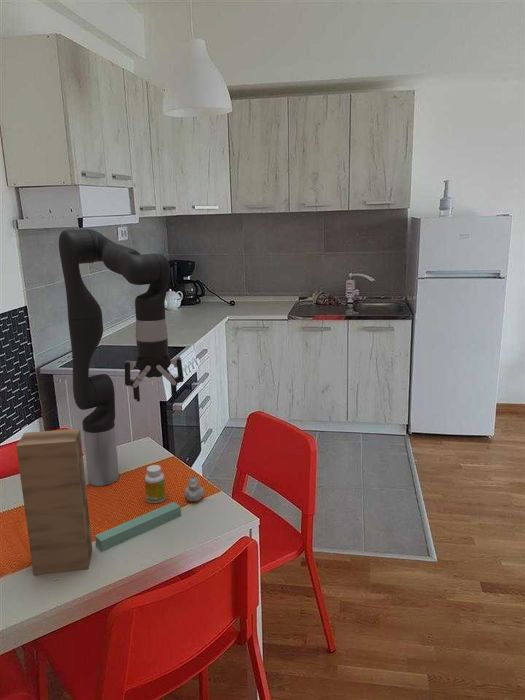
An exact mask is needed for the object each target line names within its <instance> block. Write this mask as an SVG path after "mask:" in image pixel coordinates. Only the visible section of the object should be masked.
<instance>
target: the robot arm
mask: <svg viewBox="0 0 525 700" xmlns="http://www.w3.org/2000/svg"><path fill="white" fill-rule="evenodd" d="M58 251H59V256H60V257H59V258H60V263H61V269H62V274H63V279H64V287H65V292H66V303H67V305H66V307H67V321H68V331H69V337H70V338H69V339H70V347H71V348H70V349H71V355H72V356H71V357H72V391H73V393H72V394H73V399H74V402H75V403H74V404H75V406H76V407H77V408H78V409H80V410H82V411H84V410H85V411H86V410H91V409H94V408H95V409H94V410H93V411H92V412H90V413H89V414H87V415H86V416H85V417H84V418H83V419H82V422H81V423H82V433H83V434H82V435H83V443H84V453H85V462H86V472H87V474H86V475H87V482H88V483H89V485H92V486H94V487H95V486H97V487H98V486H99V487H102V486H108V485H112V484H113V483H115V482H116V481H118V480H119V478H120V471H119V459H118V449H117V439H116V438H117V437H116V426H115V424H116V423H115V419H116V399H115V397H116V393H115V385H114V382H113V379H112V378H111V376H110V375H108V374H106V373H101V374H96V375H95V374H94V375H90V373H89V372H90V365H91V361H92V358H93V356H94V354H95V352H96V350H97V349H98V347H99V345H100V342H101V340H102V338H103V335H104V321H103V320H104V319H103V313H102V308H101V305H100V304H99V303H98V301H97V300H96V298H95V297H94V296H93V294H92V293H91V292H90V290H89V289H88V288H87V287H86V285H85V283H84V281H83V278H82V275H81V270H80V265H81V264H93V263H96V262H103V265H104V266H105V267H106V268H107V269H108V270H109V271H111V272H113V273H115V274H118V275H121V276H122V277H123V278H124V279H125V280H126V281H127V282H128V283H129V284H131V285H134V286H144V285H145V286H146V285H149V286H148V288H147V290H146V291H145V292H143V293H141V294H139V295H137V296H136V297H135V299H134V309H135V310H134V311H135V339H136V340H135V343H136V353H137V354H136V356H137V359H136V360H134V361H133V360H129V359H126V360H125V362H124V385H125V386H127V387H131V388H132V390H133V399H134V400H136V402H137V403H138V402H140V401H141V393H140V392H141V391H140V383H141V382H142V381H143V380H144V378H145V377H147V378H149V379H150V378H161V377H164V378H165V380H168V383H170V392H171V393H170V395H171V400H175V397H177V396H178V391H177V390H178V387H177V385H178V384H179V383H183V382H184V372H183V371H184V370H183V364H182V358H181V357H180V356H177V357H176V358H170V357H169V339H168V335H169V334H168V325H167V320H166V304H165V301H166V298H167V297H166V296H167V293H168V292H167V291H168V287H169V281H170V277H171V266H170V261H169V260H168V258H167V257H166V256H165V255H164V254H162V253H144V254H142V253H141V252H139V251H138V250H136V249H134V248H132V247H129V246H125V245H122V244H119V243H116V242H114V241H112V240H111V239H109V238H108V237H107V236H105V235H103V234H102V233H100V232H98V231H97V230H94V229H91V228H89V229H86V228H83V229H82V228H81V229H64V230H62V231H61V232H60V233H59V238H58ZM171 365H173V367H174V368H177V376H174V375H173V374H172V372H171V371H170V370H169V368H170V366H171ZM134 367H136V368H137V369H138V370H139V372H138V373H137V376H136V377H135V378H134V379H132V378H131V371H132V370H134ZM89 375H90V376H89Z"/></svg>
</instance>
